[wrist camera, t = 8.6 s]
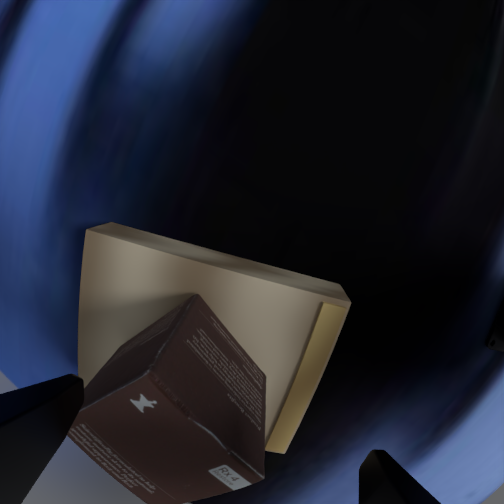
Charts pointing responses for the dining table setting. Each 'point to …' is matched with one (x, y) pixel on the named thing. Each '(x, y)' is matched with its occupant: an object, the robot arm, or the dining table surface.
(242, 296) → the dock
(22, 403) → the robot arm
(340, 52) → the dining table surface
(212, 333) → the box
